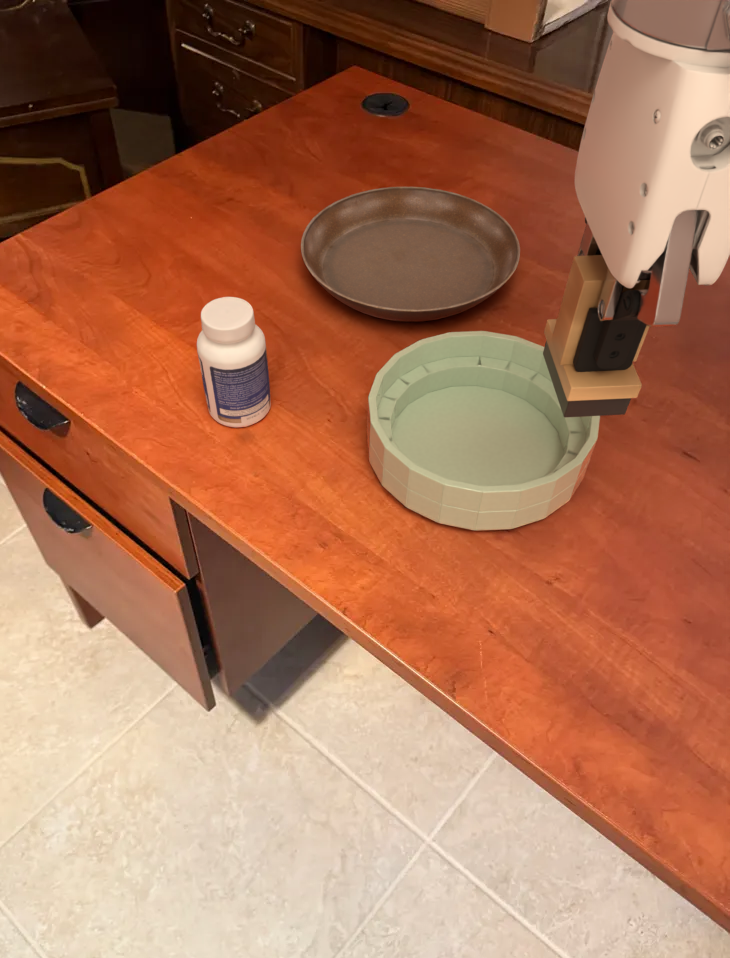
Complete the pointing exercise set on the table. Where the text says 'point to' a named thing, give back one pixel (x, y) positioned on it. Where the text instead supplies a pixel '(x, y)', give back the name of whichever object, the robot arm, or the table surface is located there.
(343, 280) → the plant saucer
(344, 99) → the table surface
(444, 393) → the bowl
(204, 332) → the pill bottle
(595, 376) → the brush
